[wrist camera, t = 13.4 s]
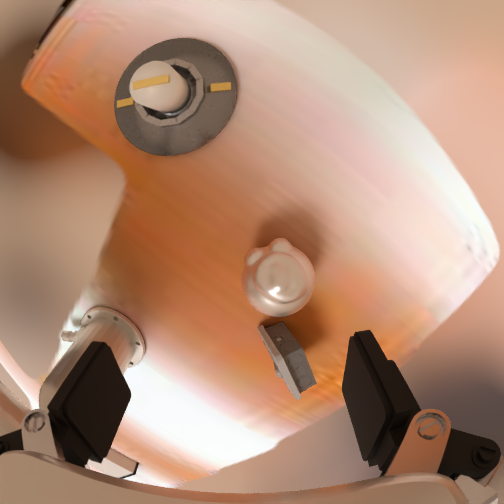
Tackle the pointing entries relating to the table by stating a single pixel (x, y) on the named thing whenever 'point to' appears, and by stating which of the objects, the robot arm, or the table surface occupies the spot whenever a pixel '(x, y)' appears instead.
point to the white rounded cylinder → (160, 87)
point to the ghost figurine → (278, 278)
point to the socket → (194, 113)
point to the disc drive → (116, 465)
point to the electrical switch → (288, 358)
